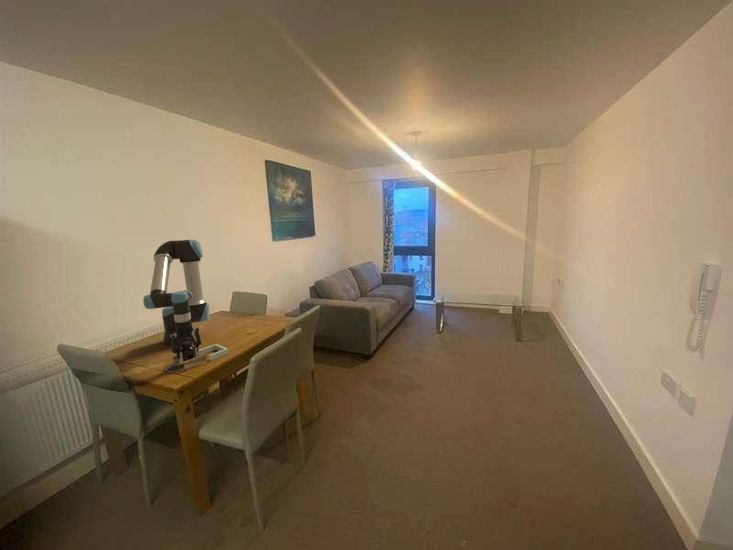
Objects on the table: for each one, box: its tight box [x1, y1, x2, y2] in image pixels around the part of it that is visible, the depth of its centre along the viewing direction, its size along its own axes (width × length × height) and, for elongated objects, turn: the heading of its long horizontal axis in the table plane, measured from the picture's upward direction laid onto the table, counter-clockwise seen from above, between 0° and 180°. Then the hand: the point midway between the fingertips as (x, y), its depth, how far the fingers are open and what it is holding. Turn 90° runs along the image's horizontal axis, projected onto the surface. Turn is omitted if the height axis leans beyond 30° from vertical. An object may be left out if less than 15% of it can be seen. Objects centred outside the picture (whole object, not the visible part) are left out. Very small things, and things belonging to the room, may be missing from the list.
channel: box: [172, 354, 208, 371], centre depth 166 cm, size 14×11×4 cm
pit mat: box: [163, 364, 184, 375], centre depth 160 cm, size 8×6×1 cm
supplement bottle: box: [180, 340, 196, 367], centre depth 165 cm, size 7×7×12 cm
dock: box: [197, 343, 230, 362], centre depth 176 cm, size 14×11×3 cm
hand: (188, 360), depth 166 cm, fingers closed on supplement bottle, 7 cm apart
